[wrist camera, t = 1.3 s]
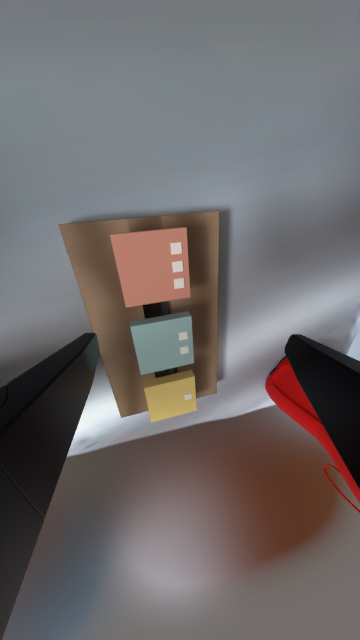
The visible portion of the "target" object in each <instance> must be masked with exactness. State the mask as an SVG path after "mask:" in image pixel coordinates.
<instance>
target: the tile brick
mask: <svg viewBox="0 0 360 640" xmlns="http://www.w3.org/2000/svg"><path fill="white" fill-rule="evenodd" d="M110 238H111V242H112V247H113V251H114V256H115V260H116V265H117V269H118V274H119V278H120V283H121V287H122V292H123V296H124V301H125V305H126V308H127V307H133V306H139V305H145V304H151V303H157V302H164V301H170V300H176V299H182V298H188V297H190V281H189V263H188V245H187V227H178V228H168V229H157V230H147V231H137V232H126V233H116V234H110Z"/></svg>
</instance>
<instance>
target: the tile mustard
mask: <svg viewBox="0 0 360 640" xmlns="http://www.w3.org/2000/svg"><path fill="white" fill-rule="evenodd" d="M143 385H144V391H145V396H146V400H147V405H148V409H149V414H150V418H151V423H152V422H156V421H159V420H163V419H167V418H170V417H174V416H178V415H181V414H185V413H189V412H192V411H196V410H197V409H196V391H195V376H194V374H193V371H192V370H188V371H184V372H180V373H175V374H171V375H167V376H163V377H158V378H154V379H150V380H145V381H143Z"/></svg>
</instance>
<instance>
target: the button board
mask: <svg viewBox="0 0 360 640" xmlns="http://www.w3.org/2000/svg"><path fill="white" fill-rule="evenodd" d="M58 225H59V228H60V231H61V234H62V237H63V240H64V244H65V247H66V250H67V253H68V256H69V259H70V262H71V265H72V268H73V271H74V274H75V277H76V280H77V283H78V286H79V289H80V293H81V296H82V299H83V302H84V305H85V308H86V311H87V314H88V317H89V320H90V323H91V326H92V329H93V332H94V333H96V335H97V339H98V344H99V351H100V354H101V357H102V360H103V363H104V366H105V369H106V372H107V375H108V378H109V381H110V385H111V388H112V391H113V394H114V397H115V400H116V403H117V406H118V409H119V412H120V415H121V418H122V417H126V416H130V415H134V414H138V413H142V412H145V411H149V409H148V405H147V400H146V396H145V391H144V385H143V381H145V380H150V379H154V378H155V372H153V373H148V374H144V375H141V373H140V369H139V364H138V360H137V355H136V351H135V346H134V342H133V337H132V333H131V328H130V321H135V320H141V319H145V316H144V310H143V305H139V306H133V307H127V308H126V305H125V301H124V296H123V292H122V287H121V283H120V278H119V274H118V269H117V265H116V260H115V256H114V251H113V247H112V242H111V238H110V234H116V233H126V232H137V231H147V230H157V229H168V228H178V227H187V245H188V263H189V281H190V297H188V298H182V299H176V300H170V301H168V308H169V314H175V313H181V312H186V311H188V312H189V313H190V315H191V318H192V336H193V354H194V363H192V364H188V365H183V366H179V367H175V370H176V373H180V372H184V371H188V370H192V371H193V374H194V376H195V391H196V398H199V397H203V396H207V395H211V394H215V393H217V328H218V259H219V211H213V212H201V213H189V214H177V215H165V216H153V217H141V218H129V219H117V220H105V221H93V222H81V223H69V224H58Z"/></svg>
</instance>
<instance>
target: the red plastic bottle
mask: <svg viewBox="0 0 360 640" xmlns="http://www.w3.org/2000/svg"><path fill="white" fill-rule="evenodd" d="M265 388H266V390H267V392H268V394H269V396H270V398H271V399H272V400H273V401H274V402H275V403H276V405H277V406H278V407H279V408H280V409H281V410H282V411H284V412H285V413H286V414H287V415H289V416H290V417H291V418H292V419H293V420H295V421H296V422H297V423H299V424H300V425H301V426H302V427H303V428H305V429H306V430H307V431H308V432H310V433H311V434H312V435H313V436H315V437H316V438H317V440H318V441H319V442H320V443H321V444H322V445H323V447H324V448H325V449H326V450H327V452H328V453H329V455H330V456H331V458H332V460H333V461H334V463H335V465H336V466H337V468H338V469H337V468H336V467H334V466H333V465H330V466H332V467H334V468H335V469H336V470H337V471H339V472H340V473H341V475H342V476H343V478H344V479H345V481H346V482H347V484H348V486H349V488H350V489H351V491H352V493H353V494H354V496H355V497H356V498H357V500H358V501H359V502H360V489H359V488H358V486H357V485H356V483H355V481H354V479H353V478H352V476H351V474H350V472H349V471H348V469H347V467H346V465H345V463H344V462H343V460H342V458H341V456H340V455H339V453H338V451H337V449H336V448H335V446H334V444H333V442H332V441H331V439H330V437H329V435H328V434H327V432H326V430H325V428H324V426H323V425H322V423H321V421H320V419H319V418H318V416H317V414H316V412H315V411H314V409H313V407H312V405H311V404H310V402H309V400H308V398H307V397H306V395H305V393H304V391H303V389H302V388H301V386H300V384H299V382H298V380H297V378H296V376H295V374H294V372H293V369H292V367H291V365H290V363H289V360H288V358H287V357H286V358H284V359H283V360H282V361H281V362H280V364H279V365H278V366H277V368H276V369H275V370H274V371H273V372H272V373H271V374H270V376H269V377H268V378H267V380H266V387H265ZM327 465H329V464H326V465H325V466H324V471H325V474H326V476H327V477H328V479H329V480H330V482H331V483H332V484H333V486H334V487H335V488H336V489H337V490H338V491H339V492H340V494H341V495H342V496H343V497H344V498H345V499H346V500H347V501H348V502H349V503H350V504H351V505H352V506H353V507H354V508H355V509H356V510H357V511H358V512H359V513H360V510H358V509H357V508H356V507H355V506H354V505H353V504H352V503H351V502H350V501H349V500H348V499H347V498H346V497H345V496H344V495H343V494H342V492H341V491H340V490H339V489H338V488H337V487H336V486H335V484H334V483H333V482H332V480H331V479H330V478H329V476H328V474H327V472H326V466H327Z"/></svg>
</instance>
